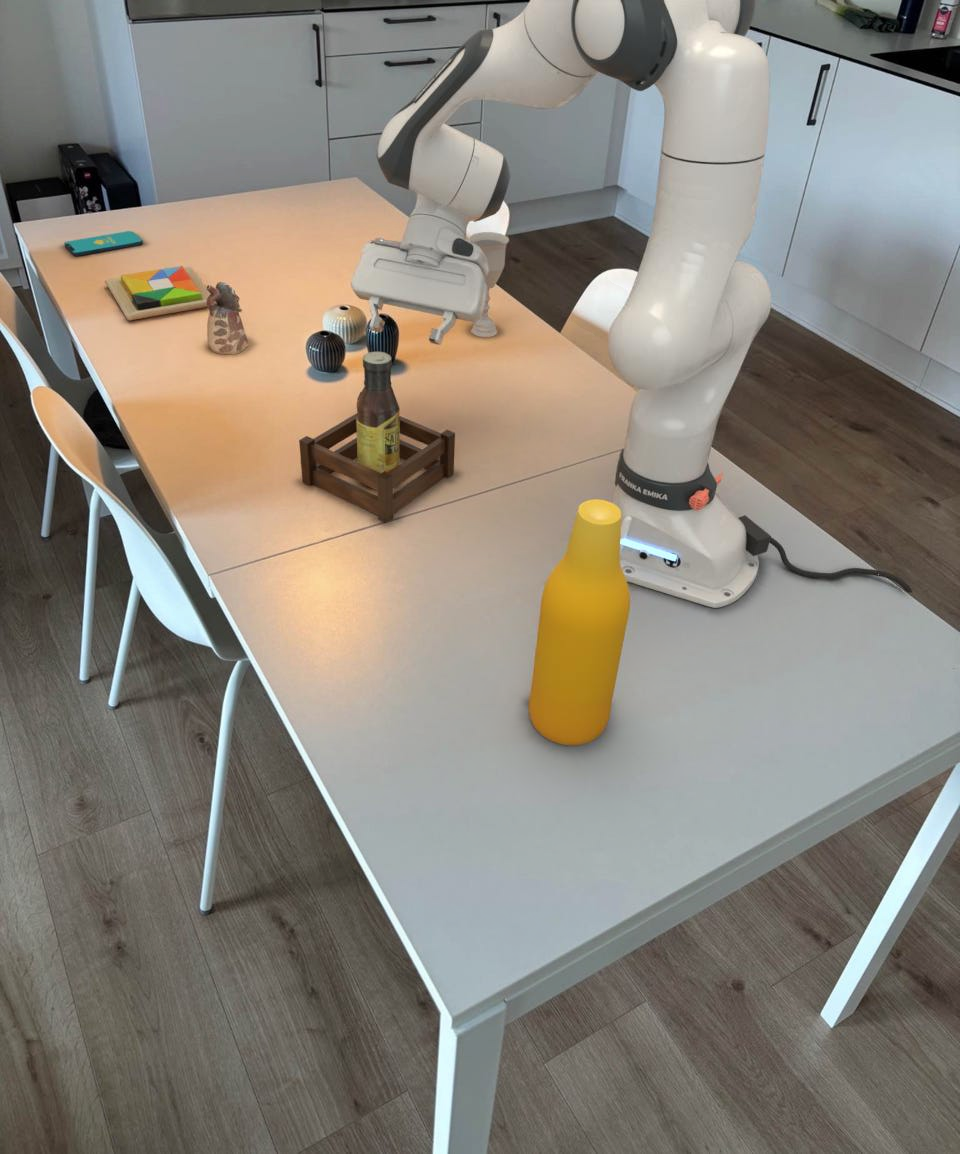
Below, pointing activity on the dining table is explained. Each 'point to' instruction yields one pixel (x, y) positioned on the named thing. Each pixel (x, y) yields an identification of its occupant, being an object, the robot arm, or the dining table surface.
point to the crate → (386, 503)
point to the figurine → (225, 321)
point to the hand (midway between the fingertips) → (404, 336)
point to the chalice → (490, 274)
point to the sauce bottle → (378, 416)
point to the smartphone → (103, 243)
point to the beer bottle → (581, 630)
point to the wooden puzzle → (159, 292)
